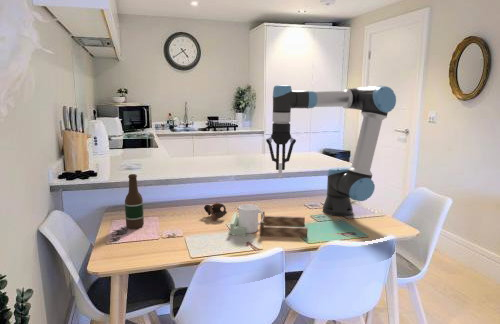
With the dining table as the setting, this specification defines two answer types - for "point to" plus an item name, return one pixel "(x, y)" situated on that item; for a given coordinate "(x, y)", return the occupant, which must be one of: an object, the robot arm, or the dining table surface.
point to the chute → (281, 230)
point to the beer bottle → (134, 205)
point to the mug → (249, 217)
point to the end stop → (235, 229)
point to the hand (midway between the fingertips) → (280, 177)
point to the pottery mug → (215, 210)
